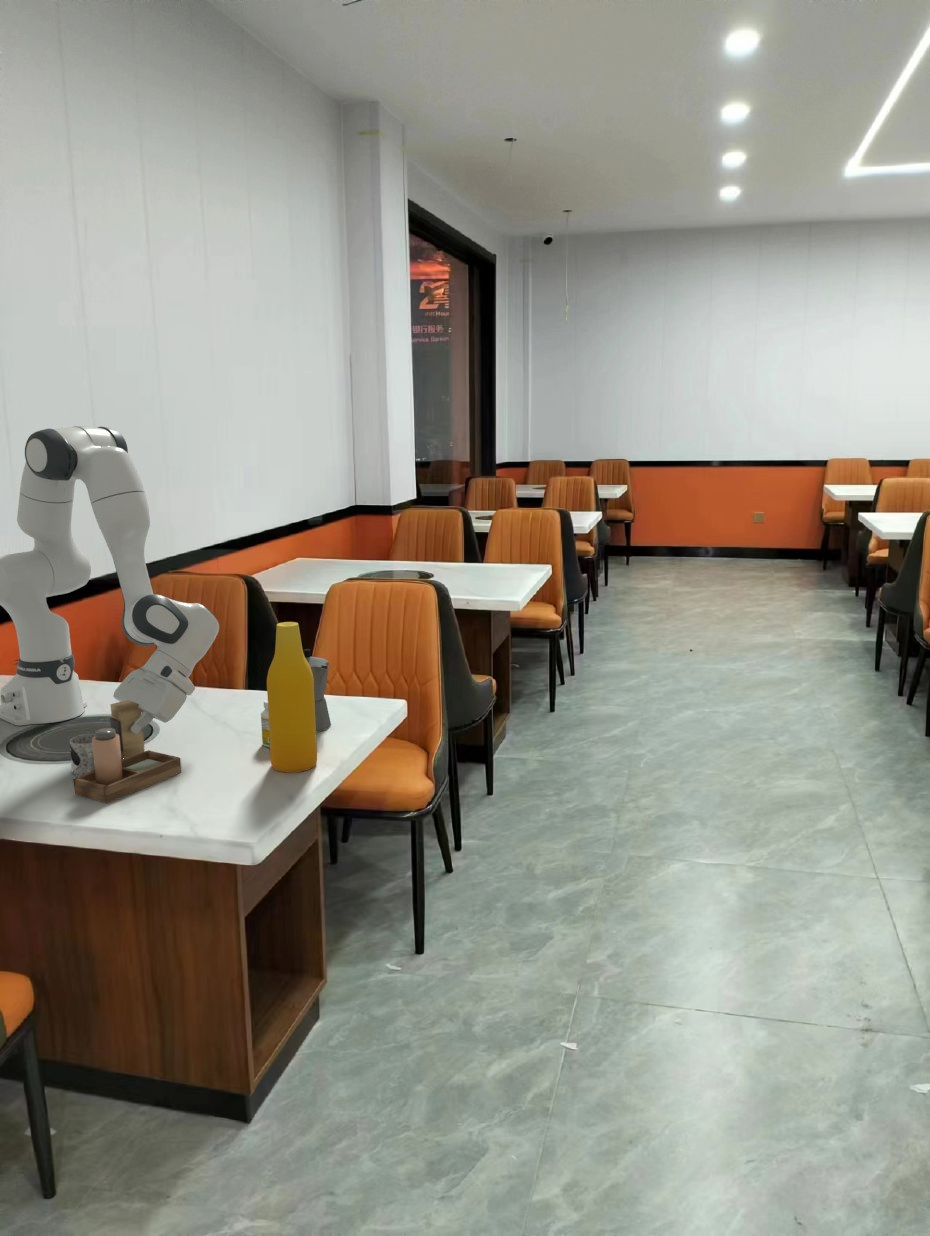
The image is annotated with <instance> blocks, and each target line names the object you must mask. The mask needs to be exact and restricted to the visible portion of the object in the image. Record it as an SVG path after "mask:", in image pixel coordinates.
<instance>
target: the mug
mask: <svg viewBox="0 0 930 1236" xmlns="http://www.w3.org/2000/svg"><path fill="white" fill-rule="evenodd" d="M94 736H95V732H94V733H92V732H91V733H85V734H79V735H75V736H73V737H72V738H70V739H69V750H70V751H69V752H70V761H71V769H72V770H71V771H72V774H73V775H74V776H76V775H77V776H76V777H79V776H82V775H84V774H87V773H90V772H92V771H95V766H94V755H93V745H92V738H93V737H94Z"/></svg>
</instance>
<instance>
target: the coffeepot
mask: <svg viewBox="0 0 930 1236" xmlns="http://www.w3.org/2000/svg"><path fill="white" fill-rule="evenodd" d="M311 651H312V649H310V648H305V649H303V654H304V656H305V658H306V660H307V662H308V664H309V666H310V668H311V670H312V674H313V679H314V702H315V725H316V733H319V732H323V731H325V730H328V729H329V728H330V727H331V726H332V723H331V718H330V714H329V709H328V705H327V701H326V700H327V699H326V697H325V691H326V689H327V683H328V682H327V681H328V675H329V668H330V666H329V664H330V661H329V660H327V659H326V658H323V657H316V656H311V653H312V652H311ZM328 727H329V728H328Z"/></svg>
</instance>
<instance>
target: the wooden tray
mask: <svg viewBox="0 0 930 1236" xmlns="http://www.w3.org/2000/svg"><path fill="white" fill-rule="evenodd" d="M144 751H145V750H144ZM121 761H122V773H123V779H122V780H119V781H117V782H114V783H112V784H109V785H107V786H106V785H102V784H99V783H96V777H95V771H92V772H90V773H87V774H84V775H82V776H76V777H75V778H72V782H73V791H74V792H73V793H74V795H77V796H80V797H84V798H87V799H90V798H91V799H90V800H95V801H99V802H101V803H104V804H105V803H106V804H109V803H111V802H114V801H116V800H118V798H119V799H121V798H123V797H125V796H128V795H131V794H132V793H135V792H137V791H140V790H142V789H145V788H146V787H150V786H152V785H154V784H156V783H159V782H161V781H163V780H166V779H169V778H170V777H173V776H175V775H178V774H180V773H182V763H181V762H182V761H181V757H178V756H173V755H171V754H170V755H169V754H165V753H163V752H162V753H161V752H157V751H152V750H150V749H149V750H146V751H145V752H142V753H140V754H137V755H134V756H132V757H129V758H127V759H121Z"/></svg>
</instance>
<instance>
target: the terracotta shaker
mask: <svg viewBox="0 0 930 1236" xmlns="http://www.w3.org/2000/svg"><path fill="white" fill-rule="evenodd" d="M94 733H95V736H94V737H93V738H92V745H93V755H94V766H95V777H96V783H99V784H102V785H106V786H107V785H109V784H112V783H114V782H117V781H119V780H122V779H123V773H122V761H121V760H122V758H121V750H120V738H119V735H118V734H116V731H115V729H113V728H111V727H110V728H109V727H107V728H100V729H99V728H98V729H97V730H95V731H94Z"/></svg>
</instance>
